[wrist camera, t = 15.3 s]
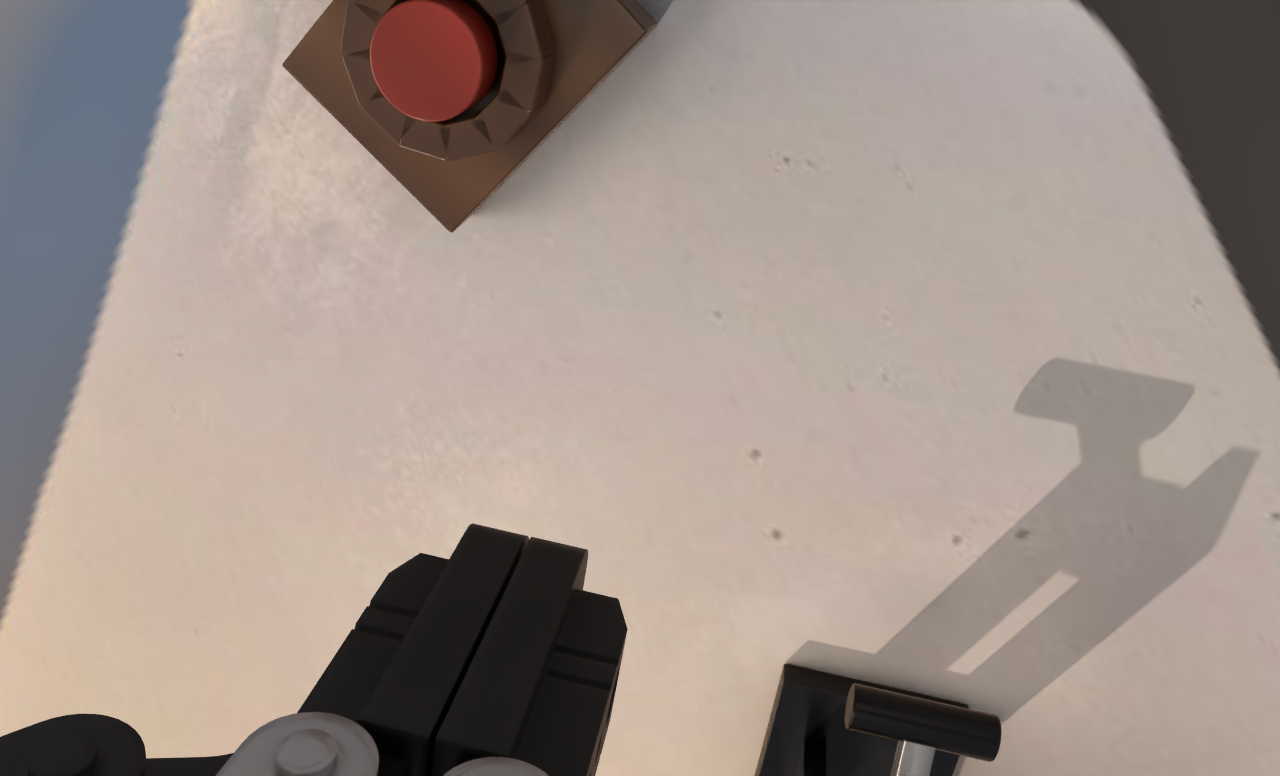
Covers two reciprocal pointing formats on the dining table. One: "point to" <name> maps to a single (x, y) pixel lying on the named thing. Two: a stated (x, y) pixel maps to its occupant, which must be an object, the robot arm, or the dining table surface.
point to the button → (433, 58)
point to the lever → (921, 728)
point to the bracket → (828, 731)
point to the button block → (493, 128)
